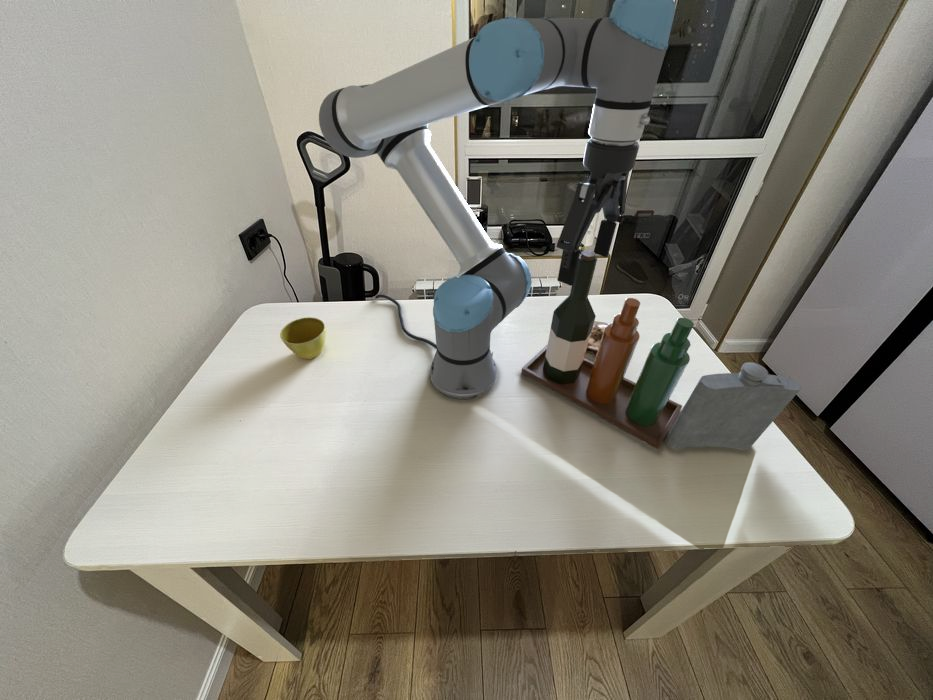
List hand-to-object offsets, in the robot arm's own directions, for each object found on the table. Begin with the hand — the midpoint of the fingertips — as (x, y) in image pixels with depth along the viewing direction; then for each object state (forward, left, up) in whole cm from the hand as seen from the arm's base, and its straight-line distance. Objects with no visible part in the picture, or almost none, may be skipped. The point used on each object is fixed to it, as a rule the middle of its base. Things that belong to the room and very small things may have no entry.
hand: (583, 267), depth 70 cm
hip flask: (+31, +2, -28) cm, 42 cm away
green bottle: (+19, 0, -27) cm, 33 cm away
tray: (+9, 0, -28) cm, 29 cm away
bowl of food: (+1, +16, -28) cm, 32 cm away
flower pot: (-51, -34, -28) cm, 67 cm away
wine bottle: (0, 0, -27) cm, 27 cm away
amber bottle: (+10, 0, -27) cm, 29 cm away
